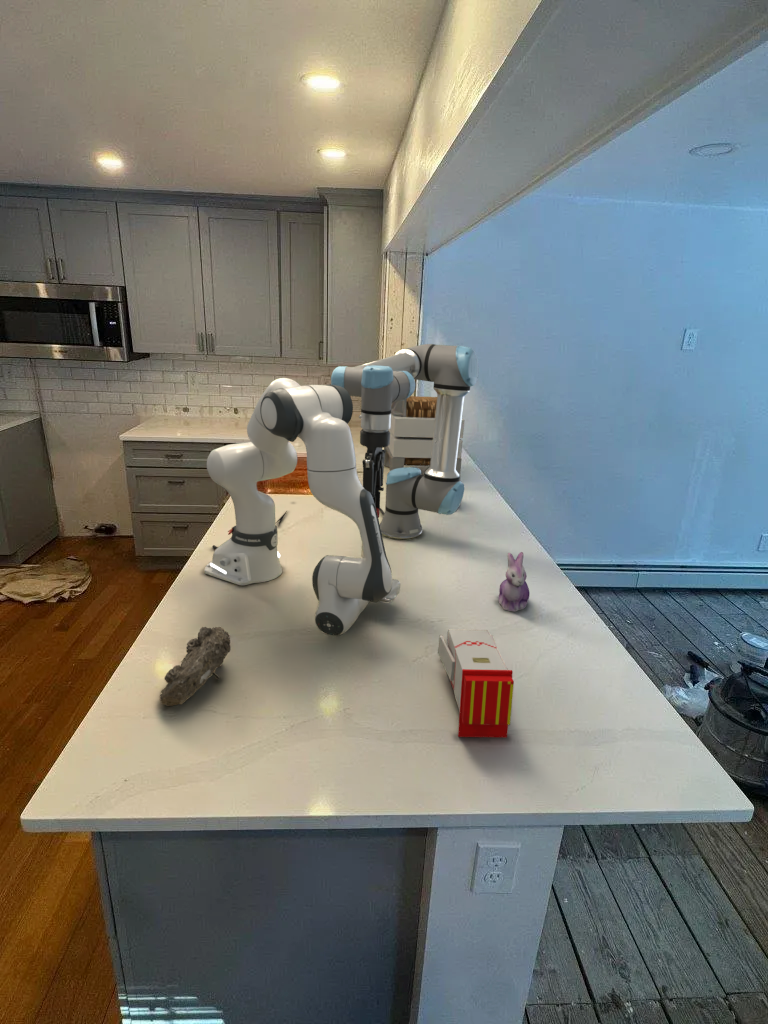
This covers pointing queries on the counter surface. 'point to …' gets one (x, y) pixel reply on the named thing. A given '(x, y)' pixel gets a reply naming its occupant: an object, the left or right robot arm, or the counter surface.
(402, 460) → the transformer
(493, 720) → the toy
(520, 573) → the figurine
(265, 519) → the left robot arm
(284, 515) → the feather
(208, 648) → the fossil
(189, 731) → the counter surface
